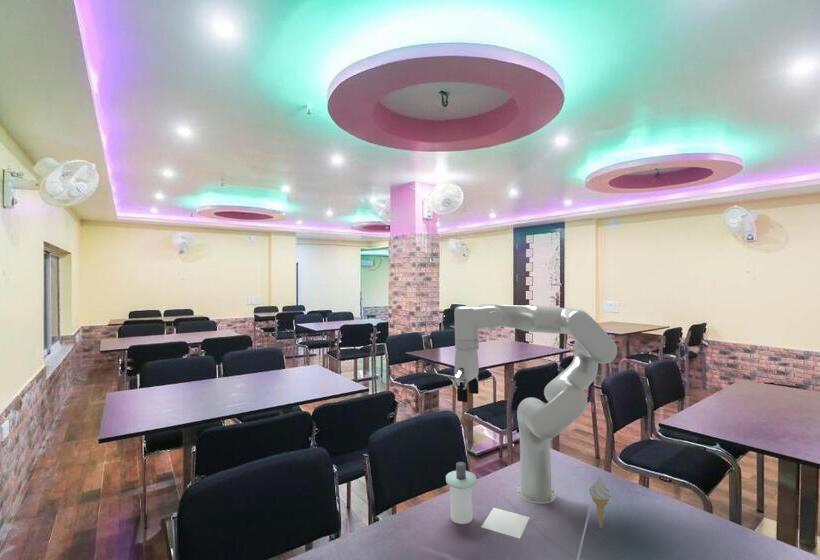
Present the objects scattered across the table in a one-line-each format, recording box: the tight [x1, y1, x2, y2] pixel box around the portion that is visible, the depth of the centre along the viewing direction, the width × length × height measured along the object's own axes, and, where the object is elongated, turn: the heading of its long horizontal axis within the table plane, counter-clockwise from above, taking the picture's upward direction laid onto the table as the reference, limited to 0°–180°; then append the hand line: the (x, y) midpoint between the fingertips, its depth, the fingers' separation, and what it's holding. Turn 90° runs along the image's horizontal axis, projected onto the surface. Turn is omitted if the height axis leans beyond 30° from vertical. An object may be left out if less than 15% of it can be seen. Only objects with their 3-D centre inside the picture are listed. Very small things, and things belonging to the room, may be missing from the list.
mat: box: [480, 507, 530, 540], centre depth 117 cm, size 11×11×1 cm
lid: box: [445, 461, 478, 489], centre depth 119 cm, size 9×9×5 cm
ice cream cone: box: [589, 475, 612, 530], centre depth 114 cm, size 6×6×15 cm
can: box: [449, 486, 474, 525], centre depth 120 cm, size 6×6×12 cm
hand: (468, 397), depth 131 cm, fingers open, 9 cm apart
